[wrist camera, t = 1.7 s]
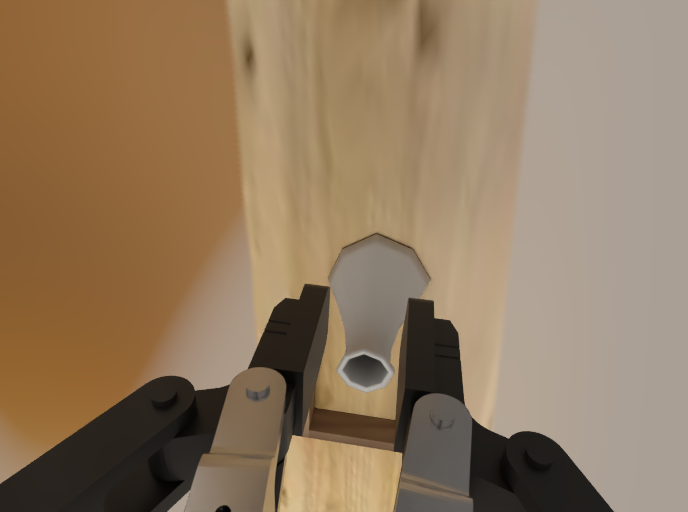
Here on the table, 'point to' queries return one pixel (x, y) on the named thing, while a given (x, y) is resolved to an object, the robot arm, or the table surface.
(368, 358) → the flask
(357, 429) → the corral
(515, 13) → the table surface
